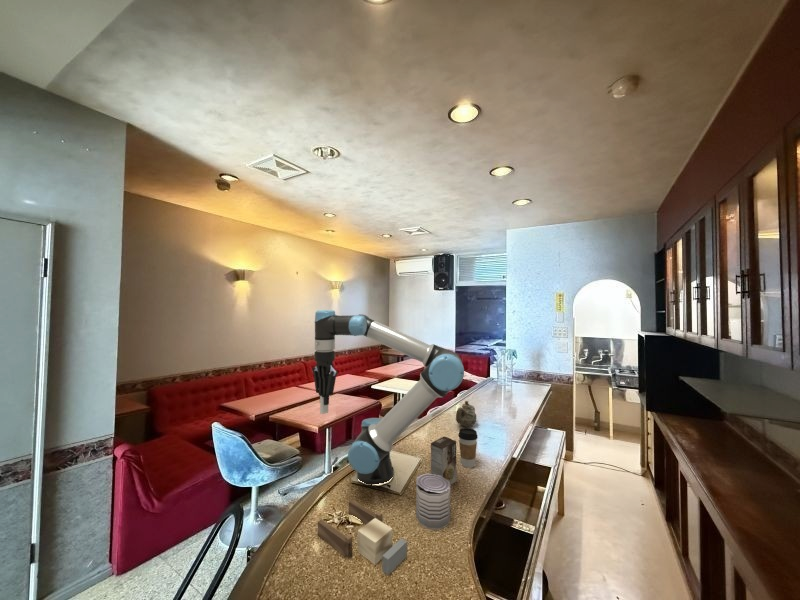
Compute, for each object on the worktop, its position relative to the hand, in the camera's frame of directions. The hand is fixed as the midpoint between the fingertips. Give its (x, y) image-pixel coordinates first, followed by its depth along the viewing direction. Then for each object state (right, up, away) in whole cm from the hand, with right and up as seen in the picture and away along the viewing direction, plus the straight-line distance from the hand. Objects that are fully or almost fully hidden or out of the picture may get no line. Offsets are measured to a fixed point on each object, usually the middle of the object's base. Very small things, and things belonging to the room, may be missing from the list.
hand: (324, 412), depth 117 cm
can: (+40, -29, -15) cm, 52 cm away
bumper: (+27, -29, -33) cm, 52 cm away
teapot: (+68, -31, +63) cm, 98 cm away
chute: (+14, -29, -22) cm, 39 cm away
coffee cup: (+59, -30, +20) cm, 69 cm away
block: (+22, -29, -29) cm, 46 cm away
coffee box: (+46, -30, +5) cm, 55 cm away
